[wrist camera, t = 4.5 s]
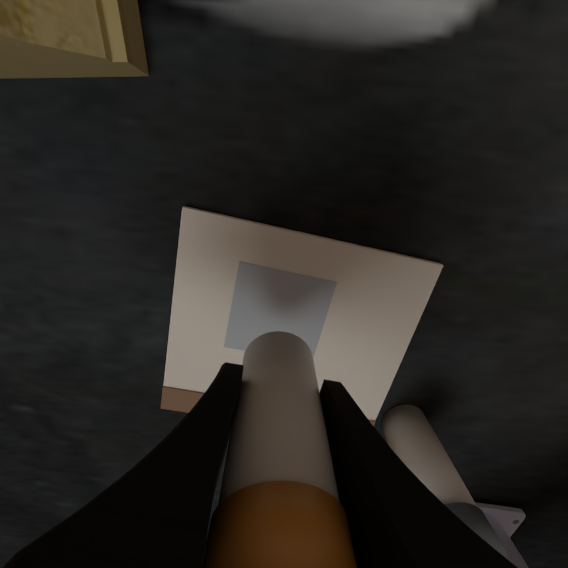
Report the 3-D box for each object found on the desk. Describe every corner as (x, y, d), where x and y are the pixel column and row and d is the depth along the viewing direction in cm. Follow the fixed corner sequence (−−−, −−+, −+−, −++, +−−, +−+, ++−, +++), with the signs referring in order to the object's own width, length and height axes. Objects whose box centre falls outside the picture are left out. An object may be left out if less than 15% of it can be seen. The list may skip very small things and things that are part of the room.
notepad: (365, 434, 20) (367, 440, 20) (163, 402, 19) (160, 408, 18) (439, 262, 16) (444, 265, 15) (184, 205, 14) (181, 207, 14)
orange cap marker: (305, 396, 13) (337, 668, 6) (234, 385, 13) (184, 657, 6) (324, 336, 12) (390, 583, 5) (248, 322, 12) (205, 564, 5)
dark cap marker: (415, 441, 20) (486, 587, 13) (372, 434, 20) (423, 579, 13) (433, 407, 19) (521, 546, 12) (388, 399, 19) (452, 537, 12)
